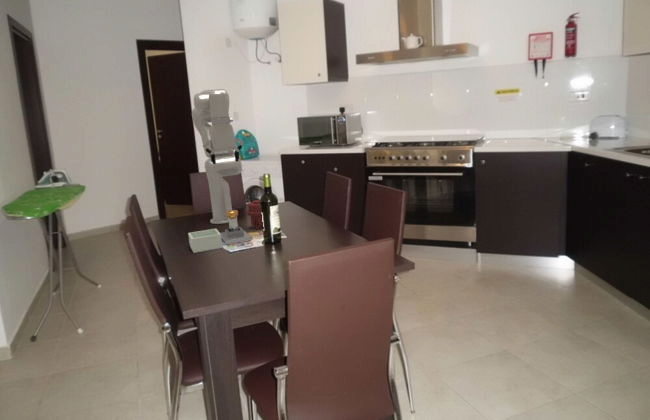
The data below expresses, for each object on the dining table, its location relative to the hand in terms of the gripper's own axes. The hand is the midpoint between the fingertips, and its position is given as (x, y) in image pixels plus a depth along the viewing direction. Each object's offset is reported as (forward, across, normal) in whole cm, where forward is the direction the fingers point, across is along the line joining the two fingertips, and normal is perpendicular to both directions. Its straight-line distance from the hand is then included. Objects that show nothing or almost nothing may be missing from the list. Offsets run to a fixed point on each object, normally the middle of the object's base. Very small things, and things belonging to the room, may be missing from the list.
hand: (225, 162), depth 214 cm
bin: (+32, +14, +12) cm, 37 cm away
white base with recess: (+32, +1, +7) cm, 33 cm away
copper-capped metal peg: (+30, +1, +7) cm, 31 cm away
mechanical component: (+32, -13, -6) cm, 35 cm away
